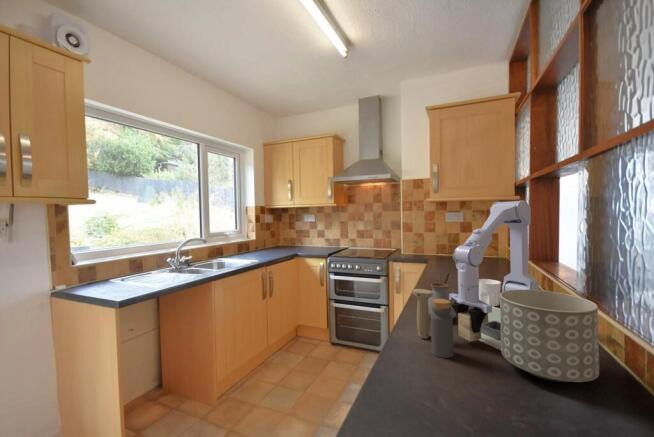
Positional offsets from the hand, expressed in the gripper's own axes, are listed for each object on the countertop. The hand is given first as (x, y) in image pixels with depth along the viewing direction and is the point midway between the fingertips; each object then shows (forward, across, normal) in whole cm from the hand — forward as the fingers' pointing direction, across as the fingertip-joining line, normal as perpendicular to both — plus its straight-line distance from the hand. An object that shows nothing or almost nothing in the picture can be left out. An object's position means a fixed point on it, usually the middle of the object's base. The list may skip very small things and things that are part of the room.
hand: (469, 329), depth 87 cm
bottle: (+4, +2, -12) cm, 13 cm away
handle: (+4, -9, -10) cm, 14 cm away
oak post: (+2, 0, 0) cm, 2 cm away
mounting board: (+4, 0, +11) cm, 12 cm away
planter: (+5, +19, +4) cm, 20 cm away
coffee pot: (+5, -24, +11) cm, 26 cm away
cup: (+5, -27, +38) cm, 47 cm away
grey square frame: (+3, 0, +12) cm, 12 cm away
